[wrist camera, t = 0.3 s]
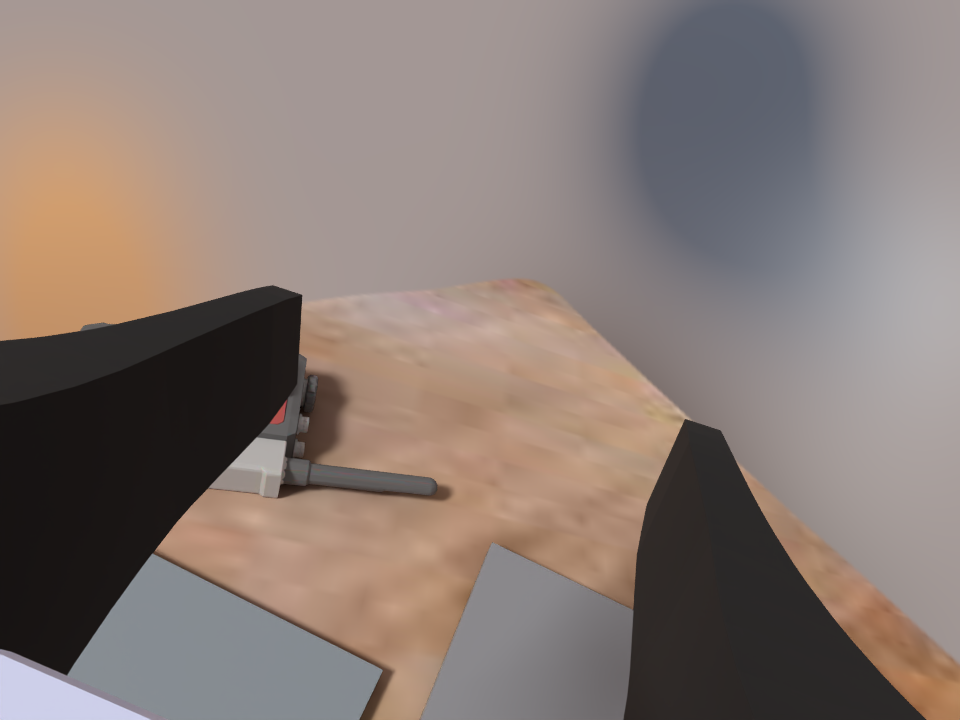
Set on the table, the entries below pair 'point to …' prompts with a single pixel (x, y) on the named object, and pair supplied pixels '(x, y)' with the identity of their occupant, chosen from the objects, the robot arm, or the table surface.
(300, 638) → the slate mat
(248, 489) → the walkie-talkie
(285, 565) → the table surface
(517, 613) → the equipment case
